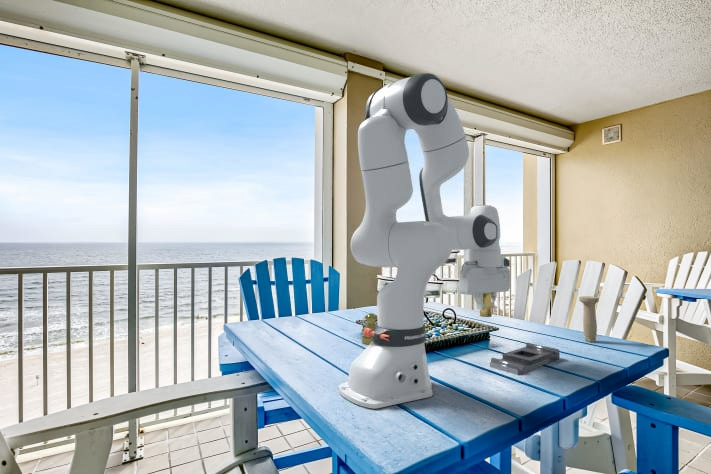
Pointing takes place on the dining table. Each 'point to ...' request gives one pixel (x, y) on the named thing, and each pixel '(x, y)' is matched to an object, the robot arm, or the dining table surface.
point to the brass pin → (486, 306)
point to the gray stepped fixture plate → (514, 365)
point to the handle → (589, 317)
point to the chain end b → (532, 354)
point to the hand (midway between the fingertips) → (485, 308)
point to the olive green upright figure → (371, 325)
